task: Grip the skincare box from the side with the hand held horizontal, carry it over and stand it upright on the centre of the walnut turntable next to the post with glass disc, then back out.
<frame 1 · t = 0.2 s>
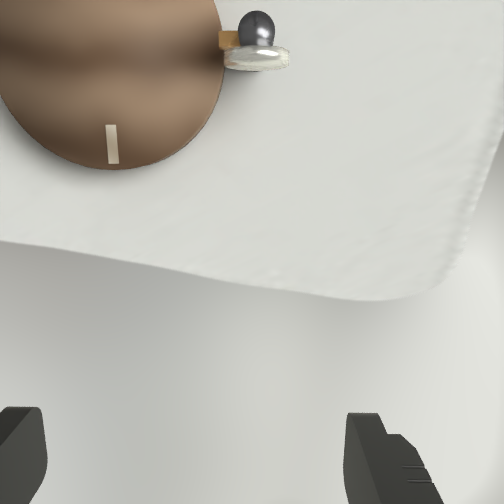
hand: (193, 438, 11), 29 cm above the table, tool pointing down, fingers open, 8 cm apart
turntable: (109, 52, 34), point 2 cm above the table, hinge at 0.0°
post with glass disc: (256, 55, 36), on the table
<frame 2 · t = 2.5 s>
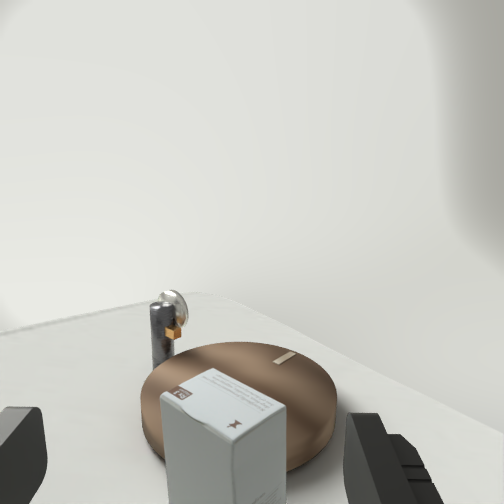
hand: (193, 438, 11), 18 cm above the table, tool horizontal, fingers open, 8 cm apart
turntable: (239, 396, 41), point 2 cm above the table, hinge at 0.0°
post with glass disc: (164, 372, 49), on the table
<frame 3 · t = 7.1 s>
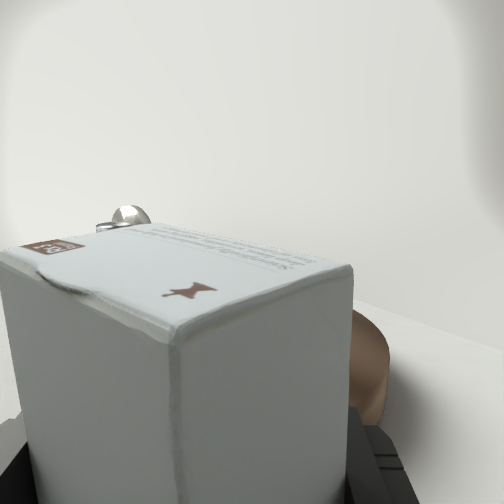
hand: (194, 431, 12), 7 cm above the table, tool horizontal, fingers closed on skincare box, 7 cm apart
turntable: (229, 351, 26), point 2 cm above the table, hinge at 0.0°
post with glass disc: (120, 327, 34), on the table
when the fingers open (11 cm above the table, at t = 12.4 s): skincare box drops 1 cm, resting on turntable.
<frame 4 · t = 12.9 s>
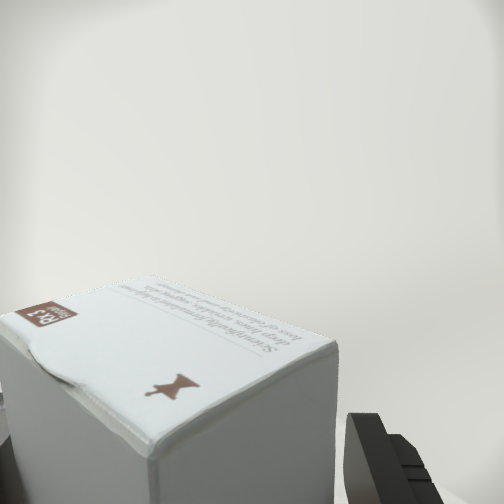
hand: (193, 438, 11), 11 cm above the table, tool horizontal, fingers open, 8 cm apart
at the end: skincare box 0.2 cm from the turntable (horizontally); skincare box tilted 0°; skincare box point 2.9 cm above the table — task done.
